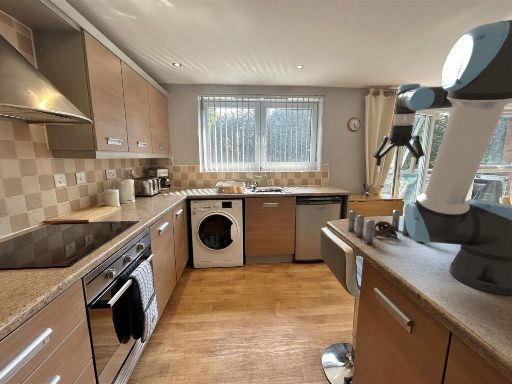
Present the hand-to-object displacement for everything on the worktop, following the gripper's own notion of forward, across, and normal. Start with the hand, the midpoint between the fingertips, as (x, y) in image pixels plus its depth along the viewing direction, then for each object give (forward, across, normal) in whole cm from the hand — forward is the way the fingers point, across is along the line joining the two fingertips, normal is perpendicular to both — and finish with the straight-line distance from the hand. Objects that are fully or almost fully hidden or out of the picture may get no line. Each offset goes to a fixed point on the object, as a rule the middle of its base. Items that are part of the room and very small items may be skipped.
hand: (395, 172), depth 102 cm
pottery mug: (+27, +6, +13) cm, 30 cm away
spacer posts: (+27, +6, +12) cm, 30 cm away
